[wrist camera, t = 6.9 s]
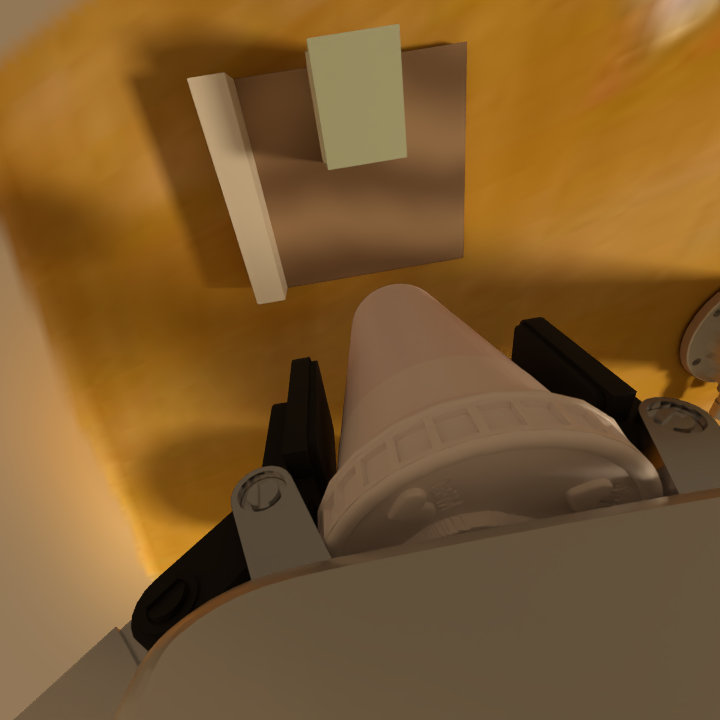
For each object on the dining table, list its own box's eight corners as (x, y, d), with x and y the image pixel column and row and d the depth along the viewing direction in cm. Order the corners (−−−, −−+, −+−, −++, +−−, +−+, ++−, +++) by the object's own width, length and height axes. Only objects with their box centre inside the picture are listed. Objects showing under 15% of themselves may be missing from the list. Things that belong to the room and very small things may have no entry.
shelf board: (458, 254, 29) (463, 257, 28) (263, 287, 29) (262, 291, 28) (461, 45, 22) (466, 41, 21) (204, 86, 22) (199, 84, 21)
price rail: (288, 283, 29) (285, 299, 26) (261, 287, 29) (255, 304, 26) (236, 81, 22) (224, 72, 19) (201, 87, 22) (184, 78, 19)
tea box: (384, 152, 24) (407, 157, 18) (322, 163, 24) (325, 170, 18) (375, 56, 21) (399, 23, 15) (306, 67, 21) (303, 39, 15)
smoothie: (306, 257, 13) (157, 1558, 1) (480, 238, 13) (1921, 1131, 1) (329, 397, 16) (352, 1083, 4) (467, 380, 17) (837, 988, 5)
